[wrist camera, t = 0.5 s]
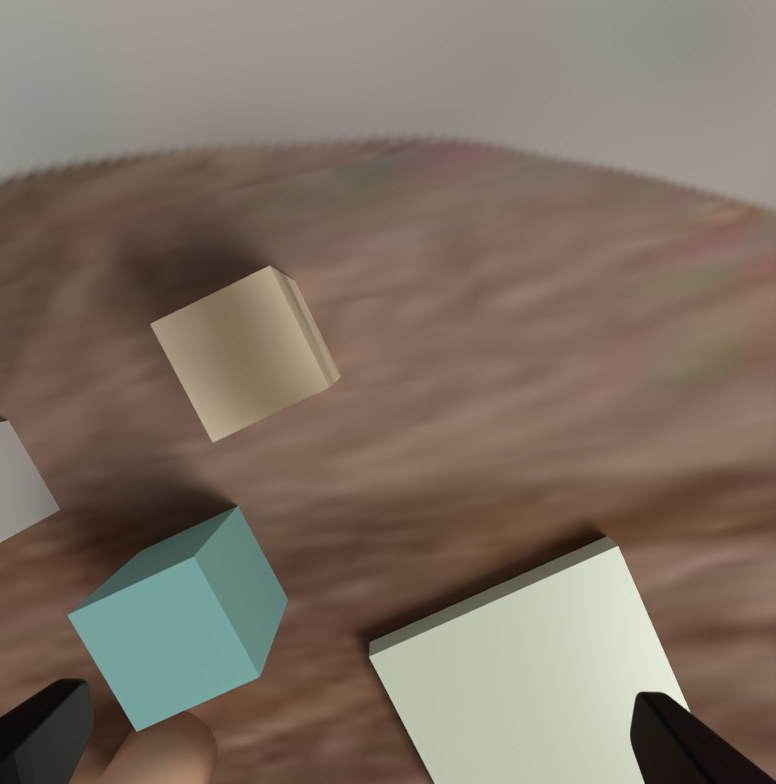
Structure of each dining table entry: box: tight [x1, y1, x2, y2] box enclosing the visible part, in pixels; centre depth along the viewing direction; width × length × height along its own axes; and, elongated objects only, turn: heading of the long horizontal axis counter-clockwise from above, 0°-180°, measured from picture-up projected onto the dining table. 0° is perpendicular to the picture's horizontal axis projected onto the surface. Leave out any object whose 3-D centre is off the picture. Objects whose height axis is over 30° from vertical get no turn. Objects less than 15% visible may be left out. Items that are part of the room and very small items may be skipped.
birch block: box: [150, 266, 341, 442], centre depth 18 cm, size 4×4×4 cm
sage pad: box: [369, 536, 690, 784], centre depth 22 cm, size 12×12×1 cm
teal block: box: [68, 506, 288, 732], centre depth 19 cm, size 5×5×5 cm
